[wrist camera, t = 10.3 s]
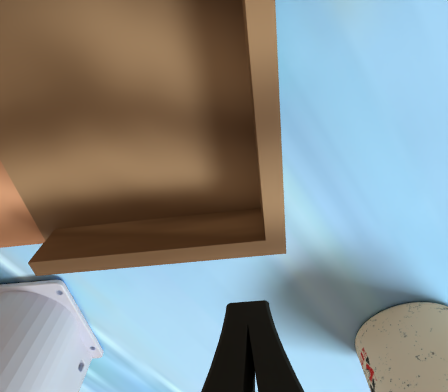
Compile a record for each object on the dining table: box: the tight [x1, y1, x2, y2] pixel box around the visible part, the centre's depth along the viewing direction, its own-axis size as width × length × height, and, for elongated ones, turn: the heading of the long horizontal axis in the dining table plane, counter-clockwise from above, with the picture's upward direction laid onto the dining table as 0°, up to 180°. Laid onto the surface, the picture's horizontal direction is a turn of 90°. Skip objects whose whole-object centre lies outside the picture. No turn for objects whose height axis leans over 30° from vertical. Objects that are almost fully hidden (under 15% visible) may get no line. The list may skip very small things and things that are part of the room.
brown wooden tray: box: [0, 0, 286, 276], centre depth 15 cm, size 14×23×4 cm, turn 98°
